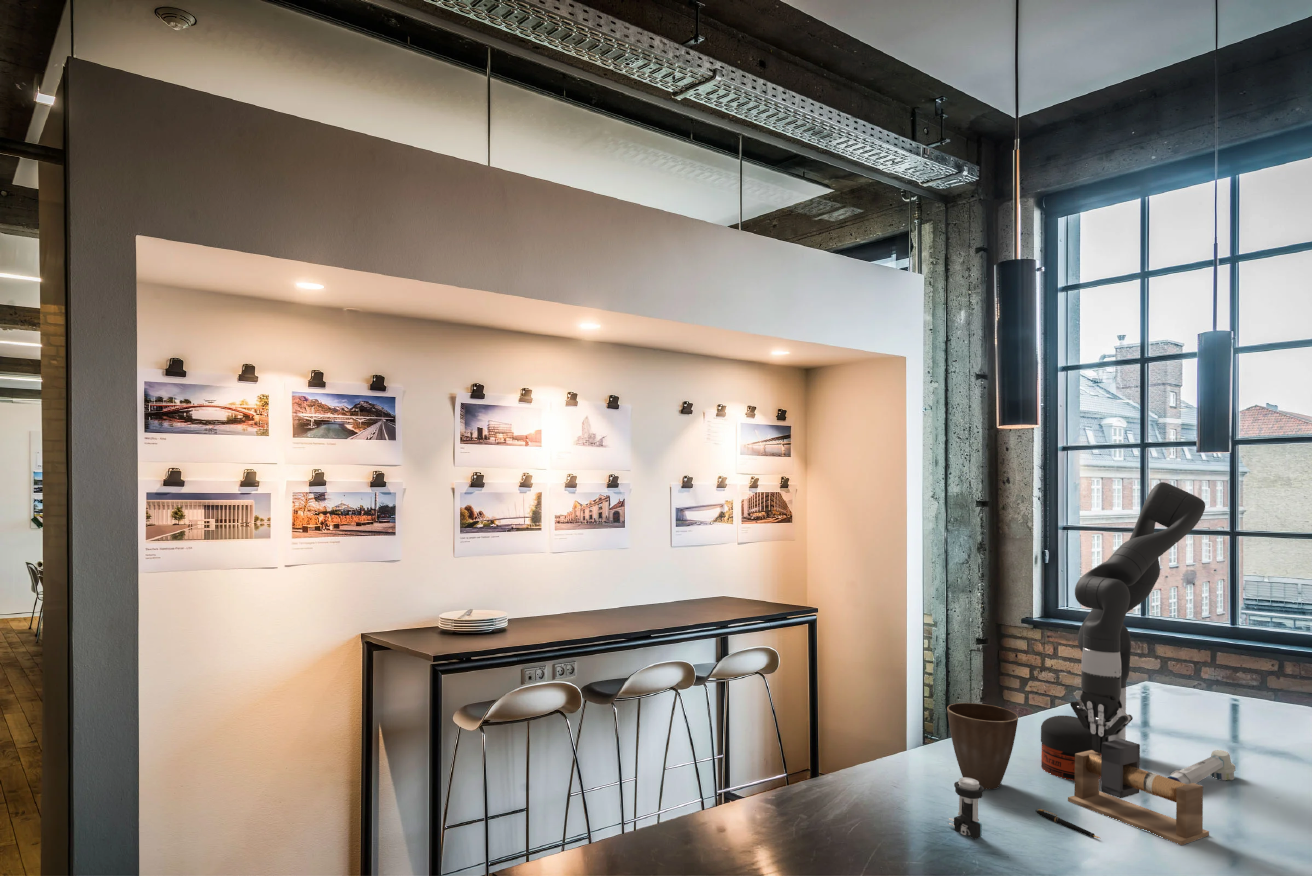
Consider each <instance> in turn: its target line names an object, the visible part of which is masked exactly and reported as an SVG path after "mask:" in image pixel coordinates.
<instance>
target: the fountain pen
mask: <svg viewBox="0 0 1312 876" xmlns="http://www.w3.org/2000/svg"><path fill="white" fill-rule="evenodd" d="M1035 813H1036V814H1037V815H1039V816H1040V817H1043V818H1044V819H1047V820H1048V821H1051V822H1053V823H1055V824H1058V825H1061V826H1063V827H1065V828H1068V829H1070V830H1073V831H1074V832H1077V833H1081V834H1082V835H1086V836H1088V837H1090V838H1097V839H1100V837H1099V836H1097V835H1095V833H1093V832H1091V831H1089V830H1087V829H1085V828H1083V827H1081V826H1078V825H1077V824H1075V823H1071V822H1069V821H1067V820H1065V819H1062V818H1060V817H1059V816H1058V815H1057V814H1056V813H1053V812H1050V811H1047V810H1045V809H1041V808H1038V809H1036V810H1035Z"/></svg>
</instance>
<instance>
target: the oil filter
mask: <svg viewBox="0 0 1312 876" xmlns="http://www.w3.org/2000/svg"><path fill="white" fill-rule="evenodd" d="M1040 742H1041V756H1040V757H1041V760H1040V762H1041V763H1040V765H1041V766H1040V767H1041V769H1042V770H1043V771H1044V770H1045V771H1044V772H1046V773H1047V772H1048V773H1047V774H1049V773H1051V774H1050V775H1052V776H1054V775H1055V776H1054V777H1057V776H1058V778H1060V777H1062V778H1061V779H1064V778H1066V779H1065V780H1068V779H1070V781H1074V782H1075V754H1076V753H1081V752H1085V751H1089V750H1093V751H1094V749H1093V748H1092V733H1091V731H1090V730H1088V729H1085V728H1084V727H1083V726H1082V724H1081V722H1080V721H1079V719H1078V717H1077V716H1071V715H1054V716H1050V717H1048V718H1046V719H1045V720H1043V722H1042V724H1041V727H1040ZM1099 756H1101V754H1100V755H1099ZM1099 780H1101V776H1099Z"/></svg>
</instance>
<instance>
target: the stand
mask: <svg viewBox="0 0 1312 876" xmlns="http://www.w3.org/2000/svg"><path fill="white" fill-rule="evenodd" d="M1090 754H1096V755H1100V753H1097V752H1094V751H1093V750H1089V751H1085V752H1081V753H1076V754H1075V781H1074V795H1072V796H1068V797H1067V802H1070V803H1072V804H1074V805H1077V806H1079V807H1081V808H1084V809H1087V810H1090V811H1092V812H1094V811H1095V813H1097V812H1098V813H1097V814H1100V815H1102V814H1104V815H1103V816H1105V817H1107V816H1109V817H1108V818H1110V817H1111V819H1112V818H1114V819H1113V820H1115V819H1117V820H1116V821H1118V820H1120V821H1122V822H1121V823H1123V822H1124V823H1123V824H1125V823H1127V824H1126V825H1128V824H1130V825H1133V826H1135V827H1138V828H1140V829H1139V830H1141V829H1144V830H1147V831H1150V832H1151V833H1154V834H1156V835H1158V836H1157V837H1159V836H1161V837H1163V838H1162V839H1164V840H1166V839H1168V840H1167V841H1169V840H1170V842H1171V841H1172V843H1174V842H1175V843H1174V844H1177V843H1178V844H1177V845H1179V846H1183V845H1187V844H1189V843H1192V842H1195V841H1198V840H1200V839H1203V838H1206V837H1208V836H1210V831H1209V830H1206V829H1204V828H1203V827H1204V826H1203V825H1204V824H1203V822H1204V821H1203V819H1204V816H1203V813H1204V811H1203V810H1204V803H1203V801H1204V786H1203V785H1201V784H1198V783H1196V784H1195V783H1191V784H1187V785H1184V786H1180V787H1177V789H1176V802H1175V803H1176V807H1175V808H1176V809H1175V813H1176V814H1175V818H1174V817H1171V816H1168V815H1165V814H1164V813H1160V812H1157V811H1154V810H1152V809H1149V808H1146V807H1143V806H1141V805H1137V804H1135V803H1133V802H1130V801H1127V800H1125V799H1123V798H1117V797H1115V796H1112V795H1109V794H1106V793H1104V792H1101V790H1100V779H1099V775H1096V774H1093V773H1090V772H1088V771H1087V769H1086V759H1087V757H1088V756H1089V755H1090ZM1120 821H1119V822H1120ZM1130 825H1129V826H1130ZM1133 826H1132V827H1133ZM1135 827H1134V828H1135ZM1138 828H1137V829H1138ZM1151 833H1150V834H1151ZM1156 835H1155V836H1156ZM1161 837H1160V838H1161ZM1186 843H1187V844H1186Z"/></svg>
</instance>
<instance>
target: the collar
mask: <svg viewBox="0 0 1312 876" xmlns="http://www.w3.org/2000/svg"><path fill="white" fill-rule="evenodd" d="M1140 756H1141V744H1140V743H1137V742H1133V741H1131V740H1130V741H1129V740H1124V739H1117V740H1113V741H1108V742H1104V743H1102V752H1101V778H1100V792H1103V793H1106V794H1108V795H1111V796H1114V797H1116V798H1119V799H1123V798H1127V797H1131V796H1134V795H1137V794H1140V790H1139V789H1136V788H1133V787H1130V786H1127V785H1124V784H1123V765H1125V764H1126V765H1129V766H1132V767H1136V768H1139V769H1141V761H1140V760H1141V757H1140Z"/></svg>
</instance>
